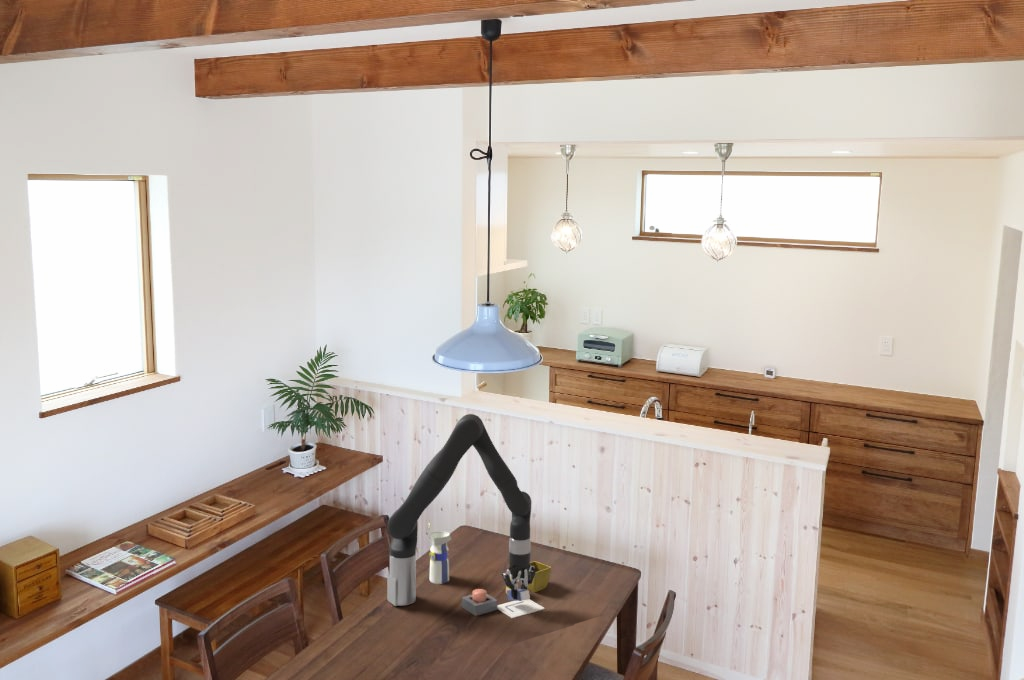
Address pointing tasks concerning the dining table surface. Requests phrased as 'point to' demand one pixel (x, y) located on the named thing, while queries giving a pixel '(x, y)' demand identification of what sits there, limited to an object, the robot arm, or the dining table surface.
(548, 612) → the dining table surface
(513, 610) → the paper pad
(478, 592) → the button
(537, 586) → the flower pot
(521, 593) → the block
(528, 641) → the dining table surface
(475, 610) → the button housing
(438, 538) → the water bottle
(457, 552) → the dining table surface
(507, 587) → the ochre marker
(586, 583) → the dining table surface
